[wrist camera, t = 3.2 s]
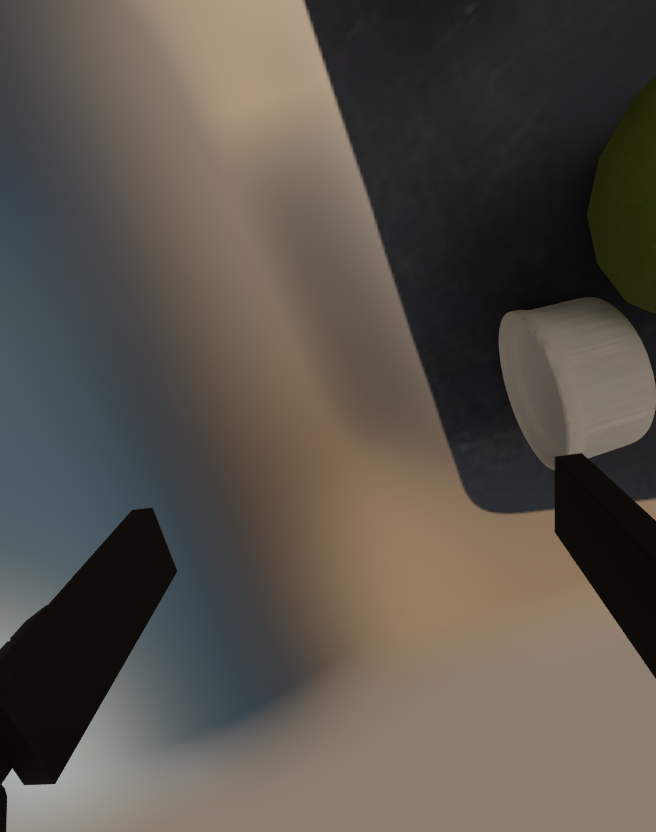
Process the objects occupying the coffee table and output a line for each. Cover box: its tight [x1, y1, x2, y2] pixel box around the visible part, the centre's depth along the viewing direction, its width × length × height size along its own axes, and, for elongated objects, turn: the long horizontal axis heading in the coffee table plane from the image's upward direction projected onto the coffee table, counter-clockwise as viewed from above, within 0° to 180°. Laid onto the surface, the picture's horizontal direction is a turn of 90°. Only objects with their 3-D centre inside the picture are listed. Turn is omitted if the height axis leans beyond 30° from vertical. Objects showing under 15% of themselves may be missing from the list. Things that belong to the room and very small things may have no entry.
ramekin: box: [499, 297, 656, 471], centre depth 23 cm, size 9×9×4 cm
